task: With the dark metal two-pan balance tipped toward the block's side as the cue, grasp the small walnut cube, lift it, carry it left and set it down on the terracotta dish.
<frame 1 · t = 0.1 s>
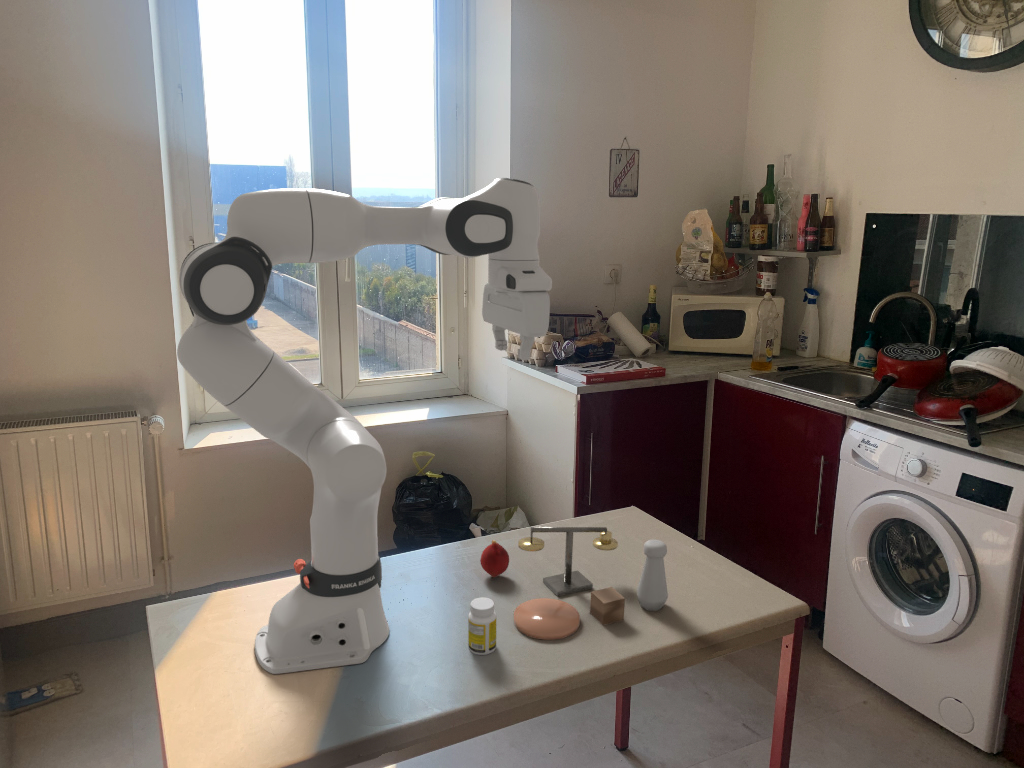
hand: (512, 354, 130), 48 cm above the table, fingers open, 8 cm apart
balance: (567, 585, 147), on the table
onion: (494, 577, 150), on the table
block: (606, 617, 136), on the table
salt shaker: (651, 606, 140), on the table
dish: (546, 621, 134), on the table
supplement bottle: (482, 648, 126), on the table
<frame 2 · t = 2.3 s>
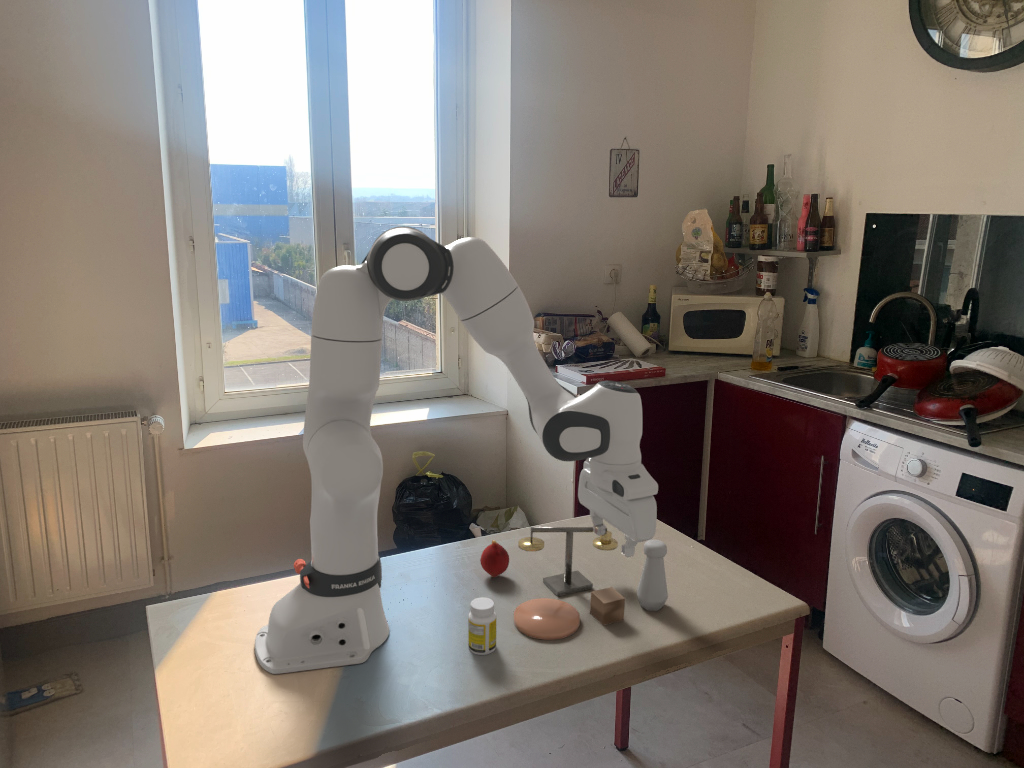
hand: (613, 544, 133), 14 cm above the table, fingers open, 8 cm apart
nothing on the table moved.
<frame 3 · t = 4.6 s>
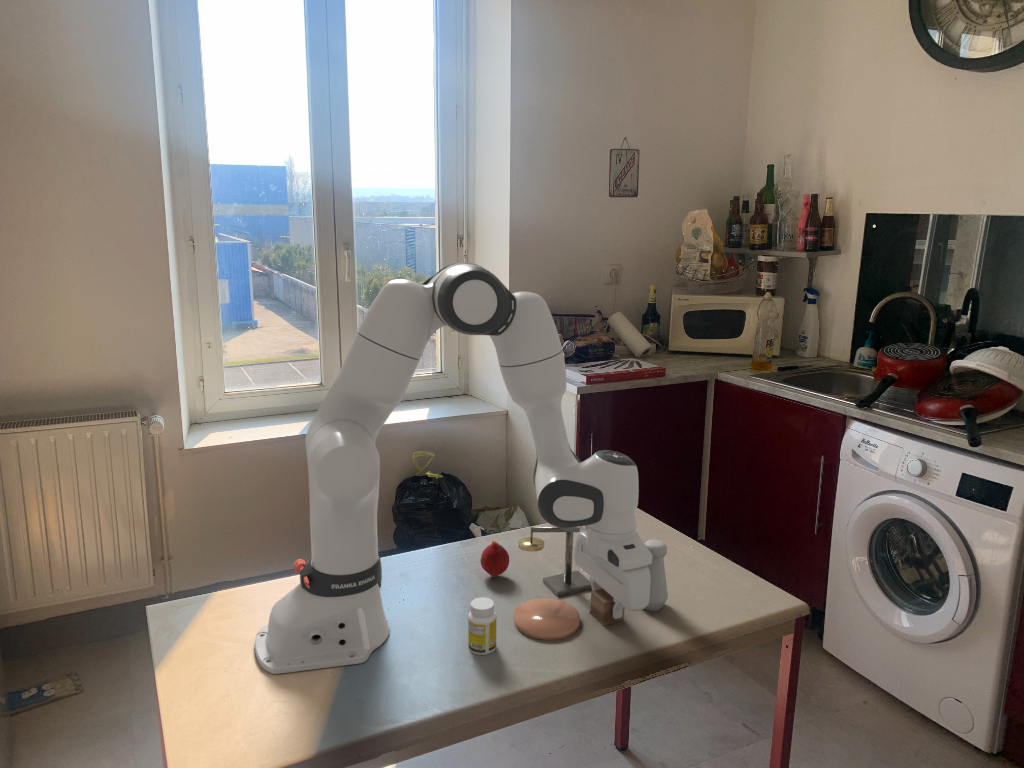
hand: (607, 608, 136), 2 cm above the table, fingers closed on block, 4 cm apart
block: (606, 616, 136), on the table, touching gripper
everything else where it was.
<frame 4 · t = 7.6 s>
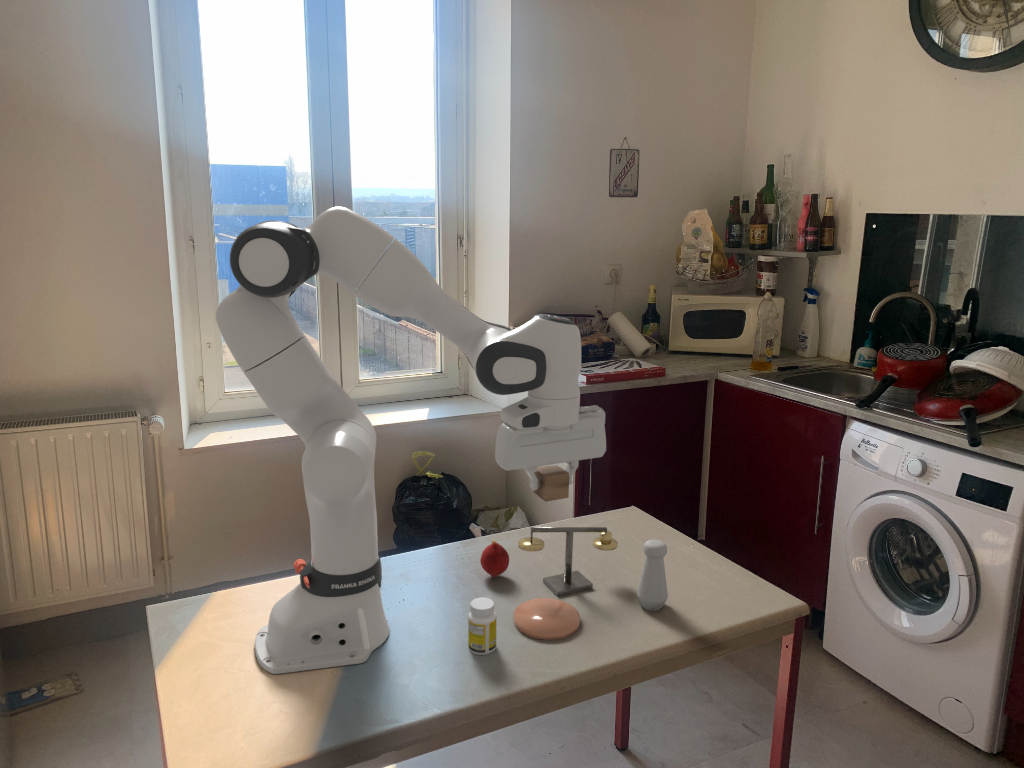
hand: (550, 486, 128), 26 cm above the table, fingers closed on block, 4 cm apart
block: (550, 495, 128), point 24 cm above the table, touching gripper
everything else where it was.
when the fingers open (4 cm above the table, at t = 11.0 s): block drops 1 cm, resting on dish.
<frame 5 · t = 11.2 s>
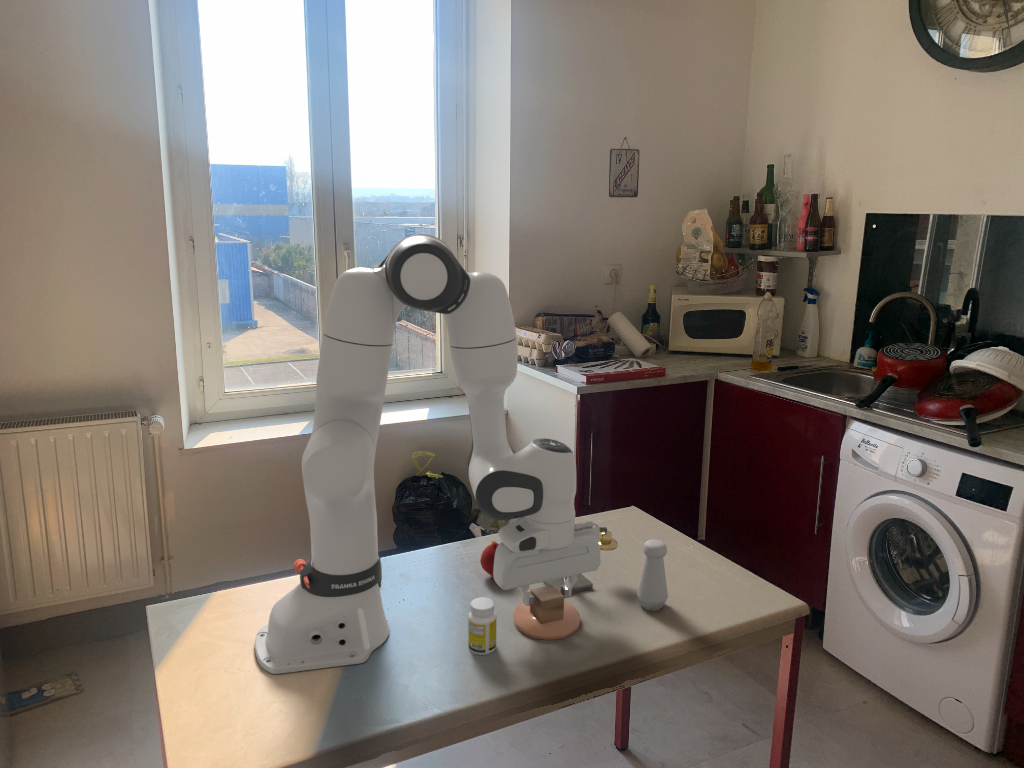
hand: (547, 599, 133), 4 cm above the table, fingers open, 6 cm apart
block: (546, 615, 134), point 1 cm above the table, touching dish
everything else where it was.
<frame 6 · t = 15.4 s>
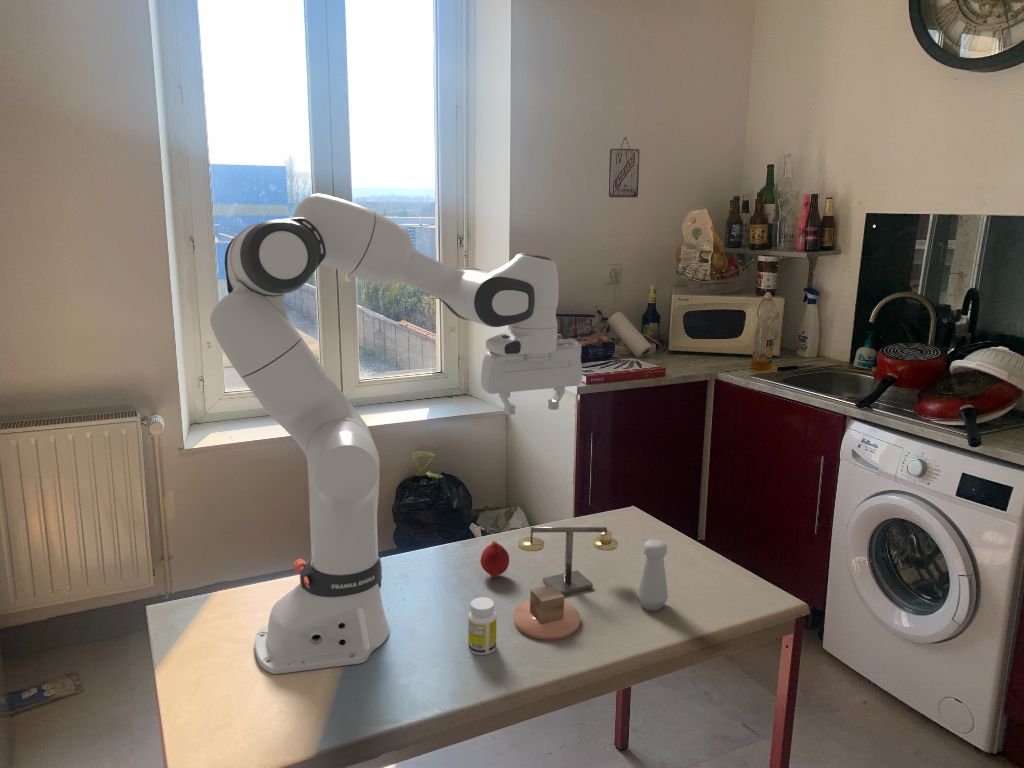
hand: (531, 411, 142), 35 cm above the table, fingers open, 8 cm apart
nothing on the table moved.
at the end: block inside the target area on the dish (0.1 cm from its centre), point 1.2 cm above the dish's base; block tilted 0°; the gripper is holding nothing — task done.
